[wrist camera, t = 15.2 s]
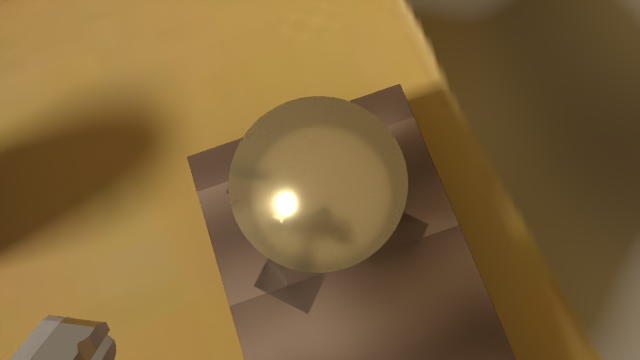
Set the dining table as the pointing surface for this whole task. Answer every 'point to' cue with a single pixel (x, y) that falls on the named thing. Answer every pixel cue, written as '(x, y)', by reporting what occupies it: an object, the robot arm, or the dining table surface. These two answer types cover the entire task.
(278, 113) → the knob
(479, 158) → the dining table surface
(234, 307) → the jig
